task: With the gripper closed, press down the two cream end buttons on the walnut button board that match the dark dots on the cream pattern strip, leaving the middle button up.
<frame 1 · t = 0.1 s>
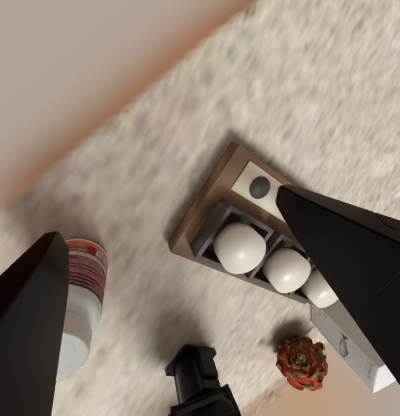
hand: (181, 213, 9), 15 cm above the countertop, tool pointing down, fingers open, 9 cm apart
pill bottle: (79, 259, 25), on the countertop
button middle: (286, 269, 27), point 5 cm above the countertop, slide at 0.0 cm
button 1: (322, 287, 31), point 5 cm above the countertop, slide at 0.0 cm
dragon fruit: (289, 342, 44), on the countertop
button board: (271, 235, 32), on the countertop
button 2: (239, 247, 24), point 5 cm above the countertop, slide at 0.0 cm
supplement box: (325, 300, 42), on the countertop
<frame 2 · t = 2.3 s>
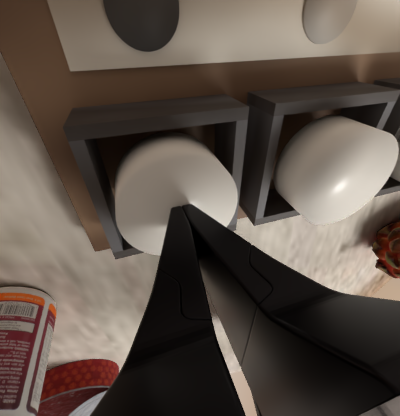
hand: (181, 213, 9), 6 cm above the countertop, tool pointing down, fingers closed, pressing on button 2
canned food: (77, 375, 28), on the countertop
pill bottle: (14, 305, 18), on the countertop
button middle: (330, 172, 11), point 5 cm above the countertop, slide at 0.0 cm
dragon fruit: (391, 226, 29), on the countertop
button board: (279, 105, 14), on the countertop
button 2: (174, 196, 10), point 5 cm above the countertop, slide at 0.5 cm, touching gripper
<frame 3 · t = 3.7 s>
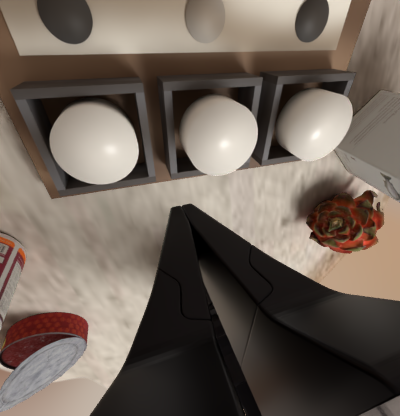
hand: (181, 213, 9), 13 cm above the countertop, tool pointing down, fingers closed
canned food: (50, 329, 32), on the countertop
button middle: (217, 136, 16), point 5 cm above the countertop, slide at 0.0 cm
button 1: (311, 125, 18), point 5 cm above the countertop, slide at 0.0 cm
dragon fruit: (327, 205, 34), on the countertop
button board: (195, 90, 18), on the countertop
button 2: (98, 142, 15), point 4 cm above the countertop, slide at 1.2 cm
supplement box: (359, 134, 27), on the countertop
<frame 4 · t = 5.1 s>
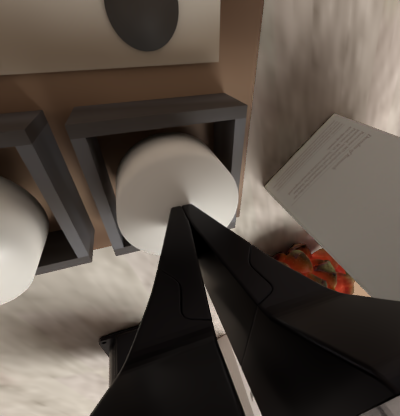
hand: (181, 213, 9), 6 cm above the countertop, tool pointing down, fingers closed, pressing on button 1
button 1: (175, 196, 10), point 5 cm above the countertop, slide at 0.3 cm, touching gripper
dragon fruit: (285, 255, 26), on the countertop
grater: (217, 352, 39), on the countertop
supplement box: (313, 172, 19), on the countertop
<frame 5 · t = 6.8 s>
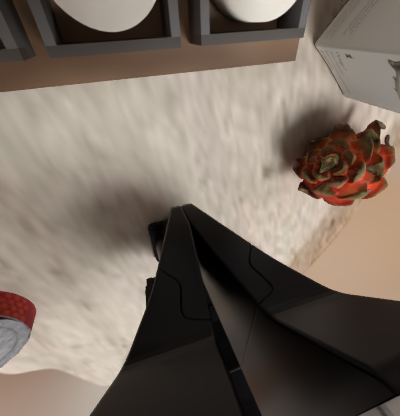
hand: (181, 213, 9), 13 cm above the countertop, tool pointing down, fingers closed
dragon fruit: (321, 150, 27), on the countertop
supplement box: (359, 36, 20), on the countertop
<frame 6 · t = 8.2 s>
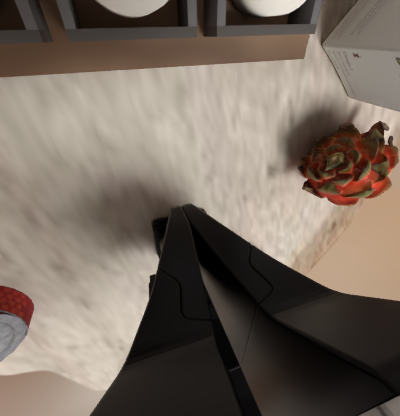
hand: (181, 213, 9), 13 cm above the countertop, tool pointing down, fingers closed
dragon fruit: (325, 151, 27), on the countertop
supplement box: (364, 39, 21), on the countertop
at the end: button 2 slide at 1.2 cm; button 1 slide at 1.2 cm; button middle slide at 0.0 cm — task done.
